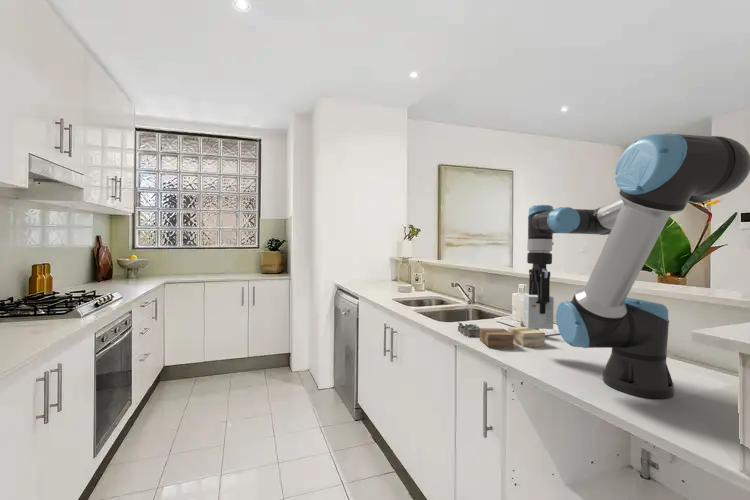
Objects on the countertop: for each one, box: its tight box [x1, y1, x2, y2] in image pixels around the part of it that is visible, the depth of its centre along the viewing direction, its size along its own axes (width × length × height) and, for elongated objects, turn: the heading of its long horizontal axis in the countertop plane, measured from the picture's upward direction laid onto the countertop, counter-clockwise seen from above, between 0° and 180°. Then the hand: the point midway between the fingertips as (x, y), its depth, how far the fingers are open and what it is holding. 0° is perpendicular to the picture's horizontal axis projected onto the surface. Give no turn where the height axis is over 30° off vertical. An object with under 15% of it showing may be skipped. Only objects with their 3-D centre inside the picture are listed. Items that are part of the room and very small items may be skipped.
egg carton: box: [457, 321, 481, 338], centre depth 146 cm, size 11×8×4 cm
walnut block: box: [479, 327, 514, 349], centre depth 131 cm, size 9×9×5 cm
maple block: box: [507, 326, 546, 348], centre depth 134 cm, size 9×9×5 cm
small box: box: [522, 294, 555, 330], centre depth 120 cm, size 8×6×10 cm
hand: (537, 321), depth 120 cm, fingers closed on small box, 6 cm apart
